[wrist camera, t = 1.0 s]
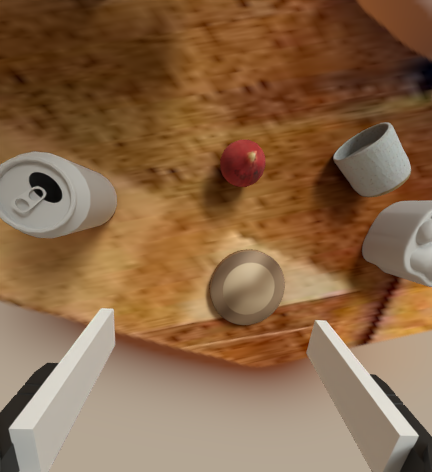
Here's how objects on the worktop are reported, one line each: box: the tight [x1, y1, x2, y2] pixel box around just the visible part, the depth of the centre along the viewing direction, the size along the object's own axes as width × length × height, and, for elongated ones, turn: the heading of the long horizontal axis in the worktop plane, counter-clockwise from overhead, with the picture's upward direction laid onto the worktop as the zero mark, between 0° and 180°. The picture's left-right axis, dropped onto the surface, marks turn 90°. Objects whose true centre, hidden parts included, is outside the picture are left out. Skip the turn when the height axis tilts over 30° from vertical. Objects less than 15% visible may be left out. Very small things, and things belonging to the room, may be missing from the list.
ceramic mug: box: [333, 123, 411, 197], centre depth 32 cm, size 11×8×8 cm
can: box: [0, 151, 117, 238], centre depth 23 cm, size 8×8×12 cm
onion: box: [220, 140, 265, 187], centre depth 28 cm, size 6×6×8 cm
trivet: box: [210, 250, 285, 325], centre depth 34 cm, size 12×12×1 cm
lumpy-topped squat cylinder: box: [362, 201, 432, 287], centre depth 35 cm, size 10×13×9 cm
